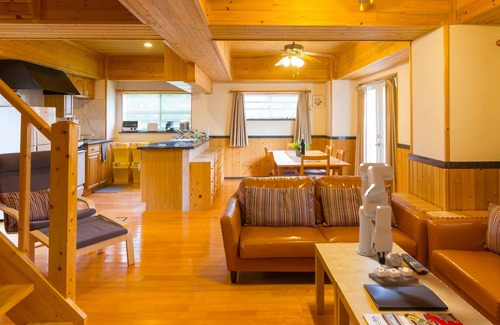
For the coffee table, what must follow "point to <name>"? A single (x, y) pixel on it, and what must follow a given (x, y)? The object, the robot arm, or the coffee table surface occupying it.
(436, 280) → the coffee table surface
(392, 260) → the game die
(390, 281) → the brown board
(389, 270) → the single pip block
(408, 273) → the two pip cube
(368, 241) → the robot arm
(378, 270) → the three dot tile
